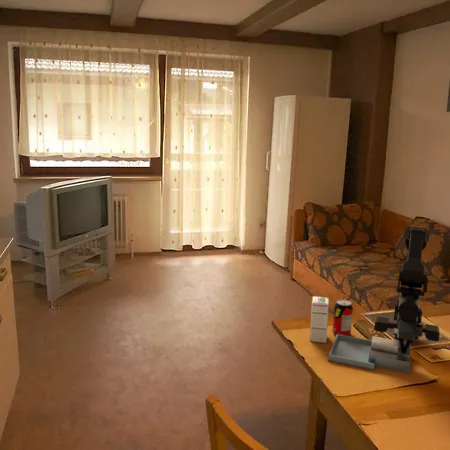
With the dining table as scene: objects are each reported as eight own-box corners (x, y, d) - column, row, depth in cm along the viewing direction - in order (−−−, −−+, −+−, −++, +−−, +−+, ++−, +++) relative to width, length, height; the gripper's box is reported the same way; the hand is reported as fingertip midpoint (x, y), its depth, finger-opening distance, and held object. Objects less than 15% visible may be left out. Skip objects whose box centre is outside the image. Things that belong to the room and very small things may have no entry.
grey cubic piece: (384, 349, 155) (385, 338, 154) (397, 352, 154) (398, 340, 153) (383, 355, 151) (384, 344, 150) (396, 358, 150) (398, 346, 149)
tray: (336, 339, 167) (336, 333, 166) (378, 347, 162) (378, 341, 161) (328, 360, 152) (328, 355, 152) (373, 370, 147) (374, 364, 147)
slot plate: (371, 348, 161) (372, 337, 160) (409, 355, 156) (410, 344, 156) (367, 365, 150) (369, 354, 149) (408, 374, 146) (410, 362, 145)
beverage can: (347, 329, 174) (350, 298, 171) (352, 337, 168) (355, 306, 165) (330, 329, 174) (332, 298, 171) (334, 337, 168) (337, 305, 165)
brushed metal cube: (371, 347, 156) (372, 336, 155) (384, 349, 155) (385, 338, 154) (370, 352, 153) (371, 341, 152) (383, 355, 151) (384, 343, 150)
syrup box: (326, 343, 164) (329, 303, 160) (309, 341, 165) (311, 302, 161) (326, 335, 169) (329, 297, 166) (309, 333, 170) (312, 295, 167)
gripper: (375, 312, 143) (370, 359, 147) (443, 323, 137) (436, 372, 140) (377, 298, 153) (373, 343, 157) (441, 308, 147) (435, 354, 150)
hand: (403, 353), depth 151 cm, fingers closed
